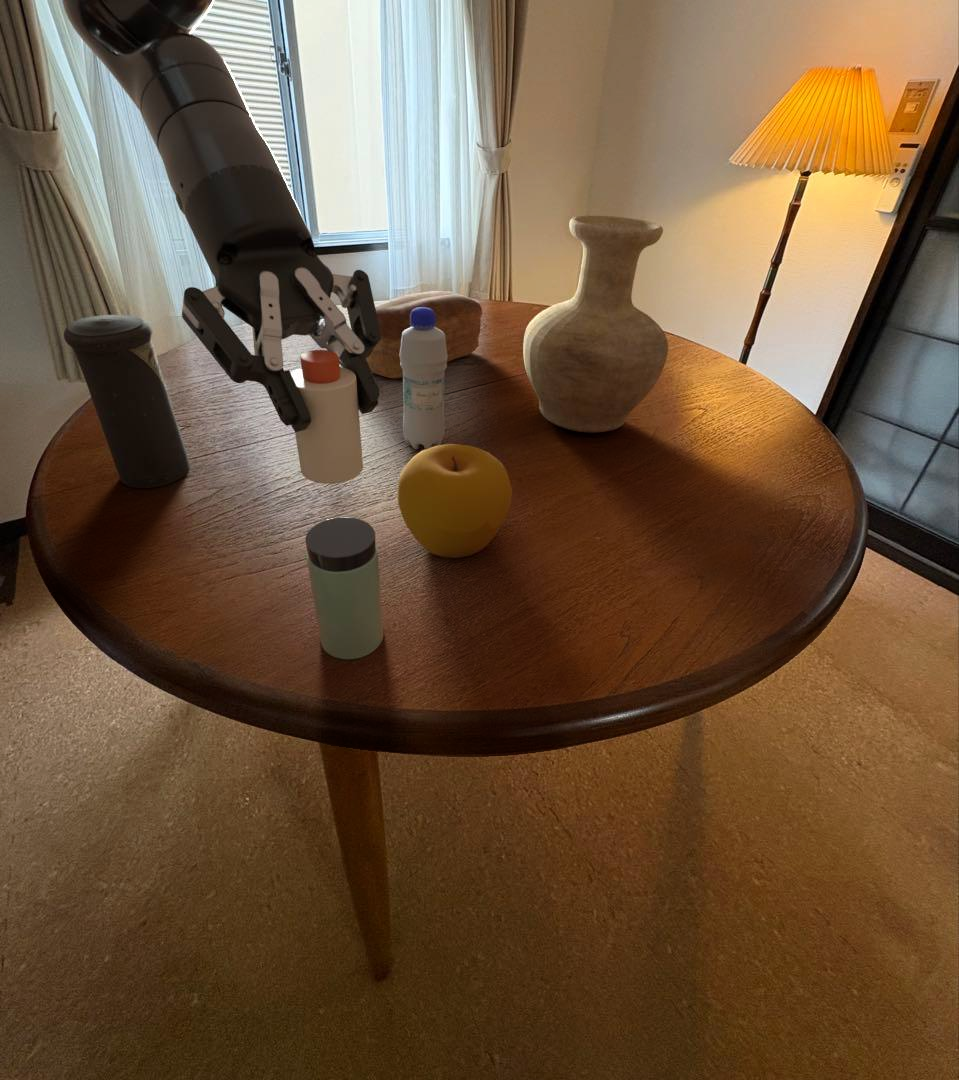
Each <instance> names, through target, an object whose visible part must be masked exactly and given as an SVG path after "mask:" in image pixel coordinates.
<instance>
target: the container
mask: <svg viewBox="0 0 959 1080" xmlns="http://www.w3.org/2000/svg"><path fill="white" fill-rule="evenodd" d="M152 335H153V328H152V325H151V324H150V323H149V322H148V321H146V320H144V319H143V318H140V317H138V316H135V315H128V314H102V315H93V316H86V317H83V318H80V319H76V320H75V321H73V322H71V323H70V324H69V325H68V326H67V327H66V328H65V329H64V331H63V340H64V341H65V343H66V344H67V345H68V346H70V347H71V349H73V352H74V355H75V358H76V360H77V363H78V365H79V367H80V370H81V373H82V376H83V378H84V380H85V382H86V387H87V389H88V391H89V395H90V398H91V401H92V403H93V406H94V408H95V411H96V415H97V417H98V420H99V423H100V426H101V428H102V431H103V434H104V437H105V440H106V443H107V446H108V448H109V451H110V455H111V457H112V460H113V464H114V466H115V469H116V472H117V474H118V477H119V479H120V482H121V483H123V484H124V485H125V486H128V487H129V488H134V489H151V488H157V487H163V486H166V485H170V484H172V483H174V482H177V481H178V480H180V479H183V477H185V476H186V475H187V474H188V473H189V471H190V469H191V463H190V459H189V455H188V452H187V448H186V445H185V443H184V439H183V436H182V433H181V430H180V427H179V424H178V420H177V418H176V414H175V411H174V408H173V406H172V402H171V398H170V395H169V391H168V389H167V385H166V382H165V380H164V376H163V373H162V370H161V367H160V364H159V361H158V357H157V354H156V351H155V347H154V345H153V342H152Z"/></svg>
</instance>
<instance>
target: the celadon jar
mask: <svg viewBox="0 0 959 1080" xmlns="http://www.w3.org/2000/svg"><path fill="white" fill-rule="evenodd" d="M304 539H305V540H304V541H305V547H306V551H305V558H306V564H307V570H308V577H309V582H310V589H311V594H312V599H313V607H314V612H315V618H316V624H317V630H318V636H319V641H320V645H321V648H322V649H323V650H324V652H326V653H327V654H328V655H329V656H331V657H333V658H337V659H340V660H356V659H361V658H364V657H366V656H368V655H370V654H372V653H373V652H374V651H376V650H377V649H378V648H379V646H381V643H382V642H383V639H384V634H385V633H384V632H385V630H384V617H383V616H384V615H383V603H382V602H383V601H382V588H381V572H380V559H379V557H380V555H379V546H378V544H377V540H376V532H375V529H374V528H373V526H372V525H371V524H369V523H368V522H367V521H365V520H363V519H360V518H356V517H350V516H339V517H332V518H328V519H325V520H322V521H320V522H318V523H316V524H315V525H314V526H312V527H311V528H310V529H309V530H308V532H307V533H306V535H305V538H304Z"/></svg>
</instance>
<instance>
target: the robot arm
mask: <svg viewBox="0 0 959 1080" xmlns="http://www.w3.org/2000/svg"><path fill="white" fill-rule="evenodd" d="M214 1H215V0H61V2H62V5H63V9H64V12H65V14H66V16H67V20H68V21H69V23H70V24H71V26H72V28H73V29H74V31H75V32H76V34H77V35H78V36H79V37H80V38H81V40H82V41H83V42H84V43H85V45H87V46H88V48H90V50H91V52H93V54H95V56H96V57H97V58H98V59H99V60H100V61H101V63H102V64H103V65H104V66H105V67H106V69H107V70H108V71H109V72H110V73H111V75H112V77H114V79H115V80H116V82H118V84H119V85H120V86H121V88H122V89H123V90H124V91H125V93H126V94H127V96H128V97H129V98H130V100H131V101H132V102H133V104H134V105H135V107H136V108H137V109H138V110H139V112H140V114H141V117H142V119H143V121H144V123H145V126H146V128H147V130H148V132H149V134H150V137H151V138H152V140H153V141H152V142H154V145H155V147H156V149H157V151H158V153H159V155H160V158H161V160H162V162H163V166H164V169H165V173H166V176H167V178H168V181H169V182H168V183H169V184H170V187H171V189H172V191H173V194H174V196H175V201H176V203H177V206H178V208H179V210H180V211H181V213H182V214H183V215H184V217H185V219H186V221H187V223H188V226H189V227H190V230H191V232H192V234H193V236H194V238H195V240H196V243H197V245H198V248H199V249H200V251H201V253H202V255H203V257H204V259H205V262H206V264H207V266H208V268H209V270H210V272H211V274H212V275H213V278H214V280H215V286H214V287H213V286H212V287H210V288H208V289H206V290H201V289H200V288H198V287H194V286H190V287H187V288H185V290H184V291H183V300H182V308H181V317H182V318H181V319H183V321H184V322H185V324H186V325H187V326H188V327H189V328H190V329H191V331H192V332H193V333H194V335H195V336H196V337H197V339H198V340H199V341H200V342H201V343H202V345H203V346H204V347H205V348H206V350H207V351H208V352H209V353H210V355H211V356H212V357H213V358H214V360H215V361H216V362H217V363H218V365H219V366H220V367H221V369H222V370H223V371H224V372H225V373H226V375H227V377H229V378H230V380H231V381H232V382H233V383H235V384H245V383H246V382H255V383H259V384H260V385H261V386H263V387H264V388H265V390H266V392H267V394H268V397H269V398H270V401H271V404H272V405H273V407H274V409H275V411H276V413H277V415H278V417H279V420H280V421H281V422H282V423H283V424H284V426H286V427H289V426H290V427H292V430H293V431H294V433H295V432H299V431H303V430H306V429H307V427H308V426H309V424H310V422H311V416H310V413H309V411H308V409H307V407H306V405H305V403H304V401H303V398H302V396H301V394H300V392H299V390H298V388H297V386H296V384H295V381H294V379H293V377H292V375H291V371H290V369H287V370H285V369H284V355H283V354H284V353H283V345H282V340H285V339H288V338H289V337H291V336H303V337H304V336H310V337H311V338H312V340H313V342H315V343H316V345H317V346H318V347H320V348H321V349H324V350H328V351H332V352H335V353H337V354H338V356H339V366H340V367H343V368H346V369H349V370H351V371H352V372H354V374H355V375H356V382H357V395H358V408H359V413H360V414H361V415H366V414H369V413H372V412H373V411H374V410H375V409H376V408H377V406H378V405H379V398H380V397H381V388H380V386H379V383H378V382H377V380H376V378H375V375H374V373H373V372H372V371H371V369H370V367H369V365H368V363H367V360H366V358H367V357H369V356H370V354H371V353H372V350H373V349H374V347H375V346H376V345H377V344H378V343H379V341H380V340H381V332H380V327H379V323H378V318H377V314H376V309H375V306H376V305H375V300H374V296H373V291H372V286H371V283H370V277H369V275H368V273H367V272H365V271H364V270H362V269H356V270H354V272H353V273H352V276H350V275H343V274H335V273H333V272H332V270H331V269H330V268H329V266H327V264H325V263H324V262H323V261H322V260H321V259H320V258H319V256H318V254H317V250H316V247H315V243H314V240H313V237H312V234H311V232H310V230H309V228H308V226H307V223H306V221H305V219H304V217H303V215H302V213H301V210H300V208H299V206H298V204H297V202H296V200H295V197H294V195H293V194H292V191H291V189H290V187H289V185H288V183H287V181H286V179H285V176H284V174H283V172H282V170H281V167H280V166H279V164H278V161H277V159H276V157H275V155H274V153H273V151H272V150H271V148H270V146H269V144H268V143H267V141H266V140H265V138H264V137H263V135H262V133H261V131H260V130H259V128H258V126H257V124H256V123H255V120H254V119H253V116H252V114H251V112H250V110H249V107H248V106H247V103H246V101H245V99H244V97H243V95H242V92H241V90H240V89H239V86H238V84H237V82H236V80H235V77H234V76H233V74H232V72H231V69H230V68H229V66H228V64H227V63H226V61H225V60H224V58H223V56H222V55H221V54H220V53H219V52H218V51H217V49H215V47H213V46H212V45H211V44H210V43H209V42H207V41H206V40H205V39H202V38H201V37H199V36H196V35H194V34H192V33H193V32H194V30H195V29H196V28H197V27H198V26H199V24H200V23H201V22H202V21H203V19H204V18H205V17H206V16H207V14H208V13H209V12H210V10H211V8H212V6H213V4H214ZM332 293H333V294H334V295H336V297H338V299H339V301H340V305H341V307H342V308H343V309H346V310H347V316H348V320H349V324H350V326H349V325H348V322H347V318H346V316H345V314H344V313H343V312H342V310H341V309H339V307H338V306H337V305H336V304H335V303H334V301H333V300H332V299H331V298H332V297H331V296H332ZM224 308H225V309H224ZM225 310H228V311H229V312H230V313H232V314H233V315H235V316H236V317H238V318H239V319H240V320H242V321H243V322H245V323H246V324H247V325H248V326H250V327H252V339H253V352H254V354H252V353H251V352H250V350H249V349H248V348H247V347H246V345H245V344H244V343H243V342H242V340H241V339H240V338H239V337H238V336H237V333H235V331H234V330H233V329H232V327H231V326H230V325H229V324H228V323H227V321H226V320H225V314H226V313H225V312H226V311H225ZM323 323H324V324H325V325H324V324H323Z"/></svg>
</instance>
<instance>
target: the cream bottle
mask: <svg viewBox="0 0 959 1080" xmlns="http://www.w3.org/2000/svg"><path fill="white" fill-rule="evenodd" d="M299 358H300V367H299V368H298V369H295V370H293V371H290V373H291V375H292V377H293V379H294V381H295V384H296V386H297V388H298V390H299V392H300V394H301V396H302V398H303V401H304V403H305V405H306V407H307V409H308V411H309V413H310V416H311V422H310V424H309V426H308V427H307V429H306V430H303V431H299V432H295V431H294V434H295V440H296V441H295V442H296V448H297V452H298V453H297V454H298V460H299V467H300V473H301V474H302V476H303V477H304V478H305V479H307V480H309V481H310V482H314V483H317V484H324V485H327V484H328V485H331V484H332V485H333V484H342V483H345V482H348V481H351V480H353V479H355V478H357V477H358V476H360V474H361V473H362V471H363V470H364V461H363V460H364V459H363V449H362V448H363V447H362V437H361V436H362V435H361V423H360V411H359V408H358V395H357V382H356V375H355V374H354V372H352V371H351V370H349V369H346V368H343V367H342V366H341V365H340V364H339V356H338V354H337V353H335V352H332V351H328V350H327V349H313V350H308V351H305V352H302V354H300V356H299Z"/></svg>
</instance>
